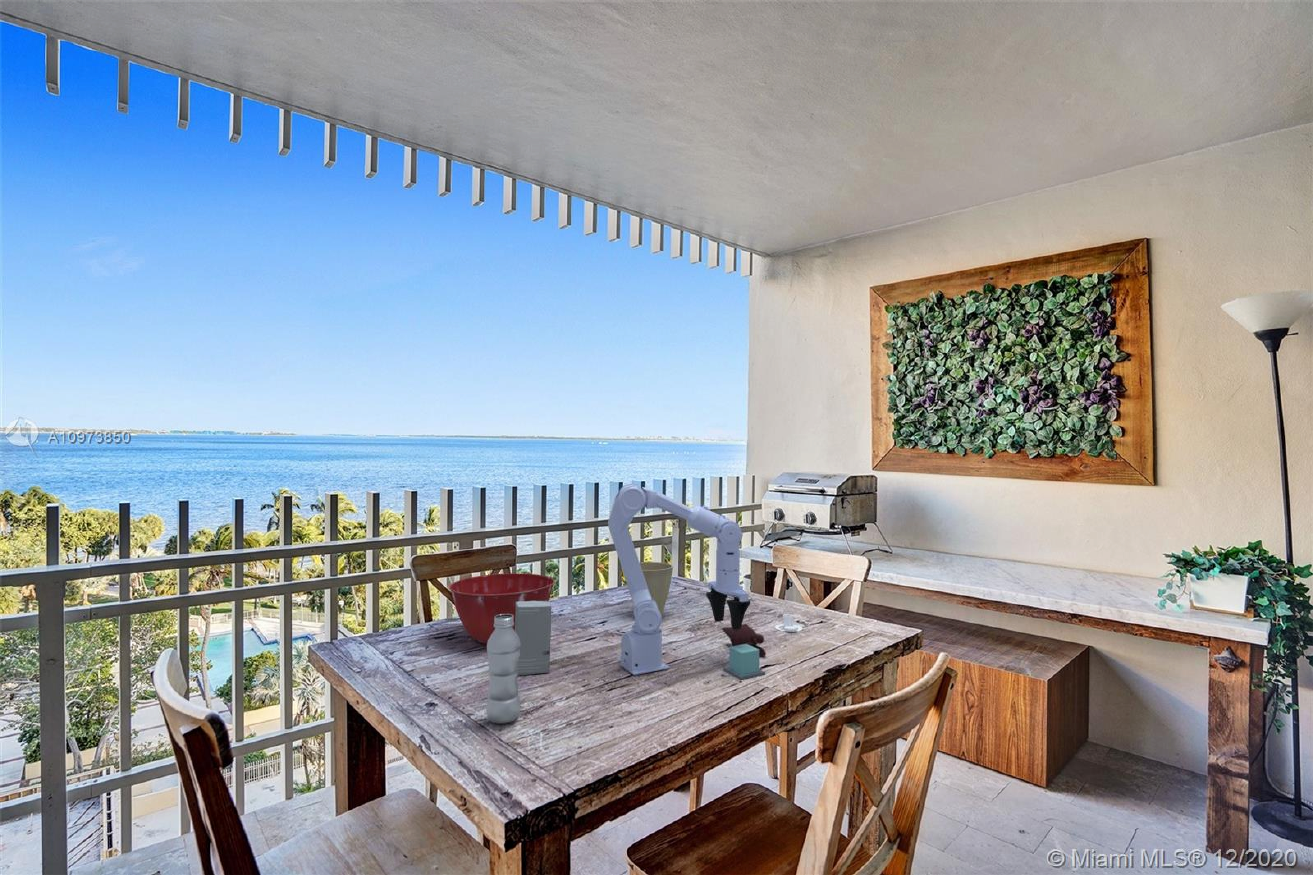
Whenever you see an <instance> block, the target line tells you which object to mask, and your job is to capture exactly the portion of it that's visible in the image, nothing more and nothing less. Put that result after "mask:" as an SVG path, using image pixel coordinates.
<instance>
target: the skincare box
mask: <svg viewBox="0 0 1313 875" xmlns="http://www.w3.org/2000/svg"><path fill="white" fill-rule="evenodd" d="M551 631H552V605H551V602H550V600H549V601H519V602H516V617H515V632H516V634H517V635H518V637H519V639H520V652H519V659H518V670H517V677H519V676H526V675H527V676H529V675H536V674H548V673H550V670H551V668H550V667H551V666H550V664H551V663H550V662H551V661H550V660H551V637H552V636H551V633H552V632H551Z"/></svg>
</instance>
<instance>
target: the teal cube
mask: <svg viewBox="0 0 1313 875" xmlns="http://www.w3.org/2000/svg"><path fill="white" fill-rule="evenodd" d="M728 650H729V651H728V652H729V654H728V656H729V658H728V659H729V661H728V662H729V666H728V667H729V668H730V669H732V670H734V671H736V672H737V673H739V674H741V675H744V674H749V673H754V672H759V669H760V656H759V649H757V648H754V647H752V646H750V645H748V644H743V645H737V646H732V645H731V646H729V649H728Z"/></svg>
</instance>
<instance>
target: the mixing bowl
mask: <svg viewBox="0 0 1313 875" xmlns="http://www.w3.org/2000/svg"><path fill="white" fill-rule="evenodd" d="M555 582H556V580H555V579H554V578H553V577H551V576H548V575H543V574H536V573H522V572H521V573H517V572H515V573H514V572H513V573H512V572H511V573H493V574H485V575H477V576H471V577H467V578H464V579H463V578H462V579H460V580H456V581H454V582H453V583H451V584H450V585H449V588H448V589H449V590H450V593H451V596H452V600H453V601H452V602H453V603H454V604H453V605H454V607H455V609H456V614H457V616H458V617H459V620H460V622H461V625H462V626H463V628H464V629H465V631H466V633H467V634H468V635H469V636H470V637H471V638H472V639H473V640H475V641H478V642H479V643H480V644H483V645H487V643H488V640H489V638H490V636H491V635H492V633H493V632H494V630H495V627H494V618H495V616H496V615H500V614H512V615H513V622H514V626H513V627H512V628H513V630H514V631H515V617H516V602H519V601H549V602H550V598H551V595H552V591H553V588H554V587H553V586H554V585H555Z"/></svg>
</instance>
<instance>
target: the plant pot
mask: <svg viewBox="0 0 1313 875" xmlns="http://www.w3.org/2000/svg"><path fill="white" fill-rule="evenodd" d="M639 563H640V566H641V569H642V572H643V575H644V578H645V581H646V584H647V587H648V590H649V593H650V596H651V597H652V599H653V600H654V601H655V602H656V603H657V605H658V609H659V611H660V613H661V616H663V615H662V614H663V612H664V609H665V606H666V603H667V600H668V596H669V591H670V587H671V583H672V576H673V568H674V565H672V564H671V563H666V562H660V561H659V562H658V561H643V562H640V561H639ZM629 595H630V598H631V601H632V602H631V603H632V604H633V600H632V597H631V594H630V593H629ZM632 606H634V604H633V605H632Z"/></svg>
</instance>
